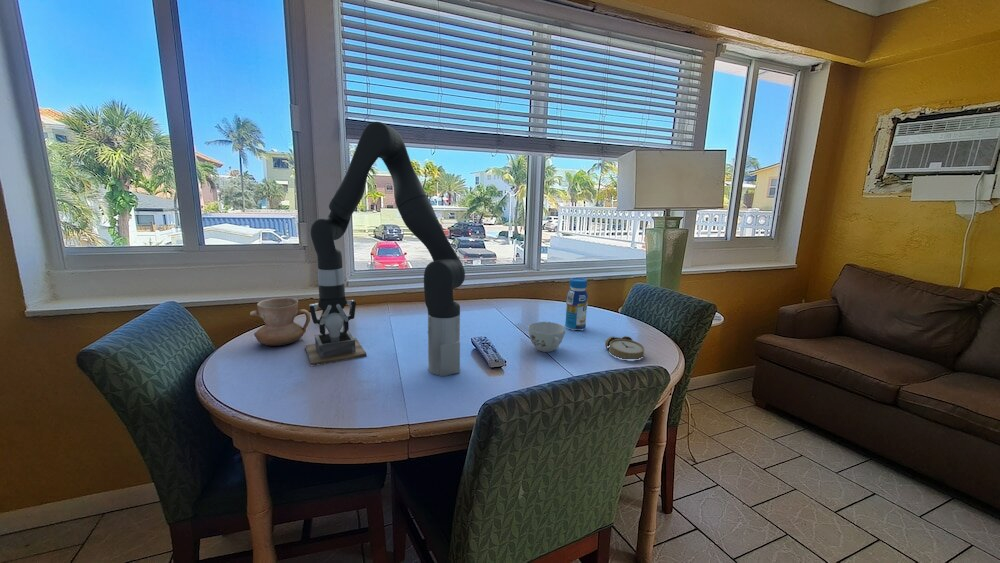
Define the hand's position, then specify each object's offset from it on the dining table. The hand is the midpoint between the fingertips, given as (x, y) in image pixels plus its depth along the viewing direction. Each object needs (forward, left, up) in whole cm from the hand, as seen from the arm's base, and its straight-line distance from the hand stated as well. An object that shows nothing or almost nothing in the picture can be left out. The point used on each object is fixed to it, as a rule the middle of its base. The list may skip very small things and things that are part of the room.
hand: (334, 333), depth 128 cm
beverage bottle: (-16, -88, -7) cm, 90 cm away
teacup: (-30, -63, -7) cm, 70 cm away
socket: (0, 0, -6) cm, 6 cm away
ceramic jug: (+18, +14, -7) cm, 24 cm away
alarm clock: (-43, -85, -7) cm, 96 cm away
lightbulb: (0, 0, -4) cm, 4 cm away
